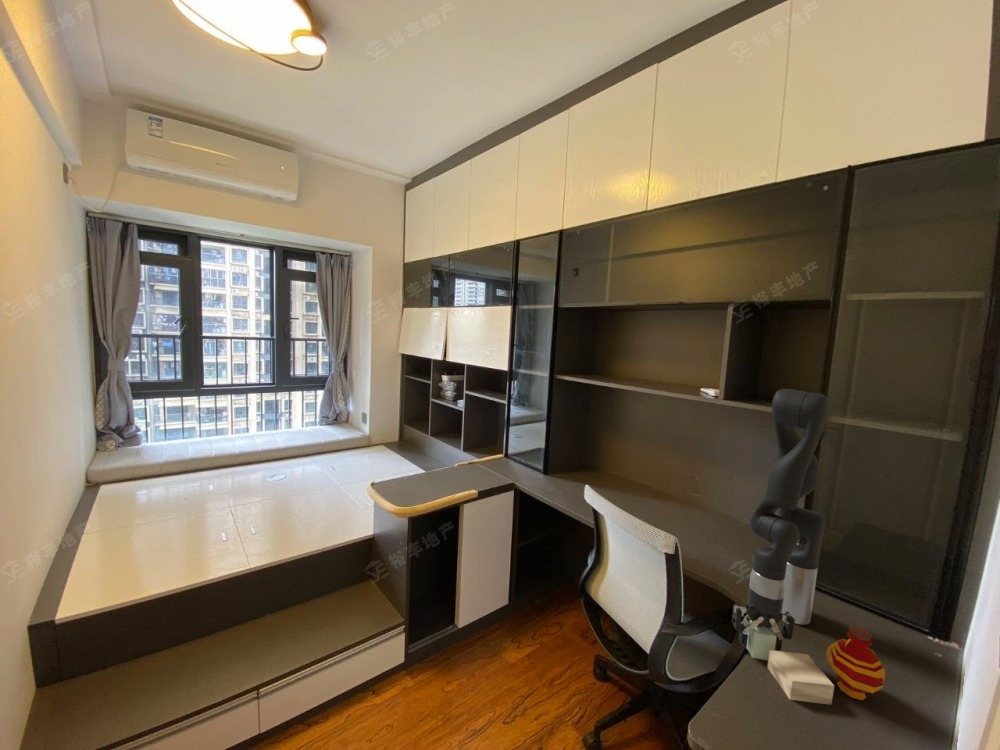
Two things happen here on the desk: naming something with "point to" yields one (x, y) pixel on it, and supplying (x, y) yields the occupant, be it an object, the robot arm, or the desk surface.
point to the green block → (761, 642)
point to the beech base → (800, 677)
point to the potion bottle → (856, 664)
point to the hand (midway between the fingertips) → (758, 647)
